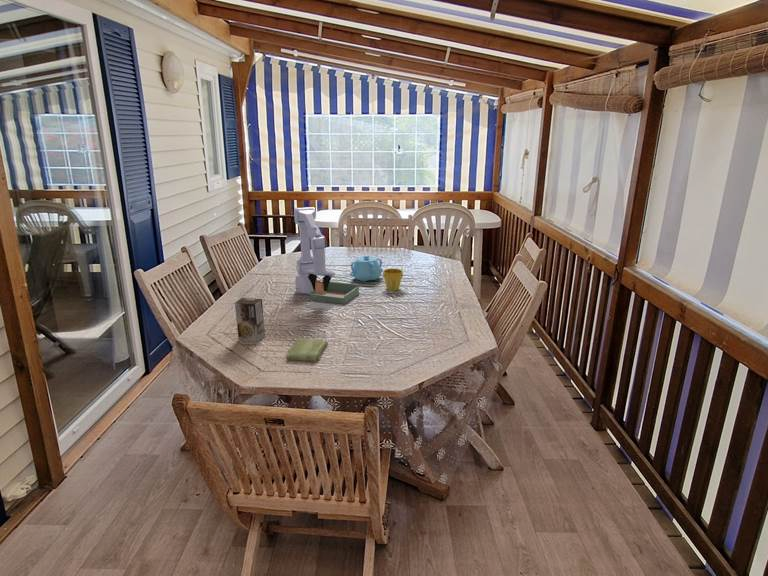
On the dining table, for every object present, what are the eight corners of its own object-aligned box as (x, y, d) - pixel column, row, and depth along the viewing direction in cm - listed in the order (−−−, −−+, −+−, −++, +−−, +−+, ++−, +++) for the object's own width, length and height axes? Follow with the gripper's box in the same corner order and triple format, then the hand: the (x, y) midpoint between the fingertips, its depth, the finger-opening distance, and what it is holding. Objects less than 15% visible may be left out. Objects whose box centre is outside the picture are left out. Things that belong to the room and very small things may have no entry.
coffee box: (265, 336, 206) (262, 298, 201) (258, 342, 200) (255, 303, 195) (245, 334, 208) (242, 297, 203) (237, 340, 202) (234, 302, 197)
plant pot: (400, 292, 261) (400, 274, 258) (381, 291, 263) (381, 273, 260) (404, 286, 271) (404, 268, 268) (385, 285, 273) (385, 267, 270)
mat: (304, 307, 239) (304, 307, 239) (314, 301, 248) (314, 301, 247) (327, 310, 235) (327, 310, 234) (336, 304, 243) (336, 303, 243)
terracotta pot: (313, 294, 238) (313, 281, 236) (318, 291, 243) (318, 279, 241) (323, 295, 236) (322, 282, 235) (328, 292, 241) (328, 280, 239)
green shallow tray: (309, 299, 250) (309, 290, 248) (325, 289, 265) (325, 280, 264) (344, 304, 244) (344, 294, 242) (358, 293, 259) (358, 284, 257)
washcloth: (328, 344, 199) (328, 336, 198) (318, 364, 182) (318, 355, 181) (296, 342, 201) (296, 335, 200) (283, 362, 184) (282, 354, 183)
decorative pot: (373, 284, 274) (373, 260, 270) (347, 281, 281) (346, 257, 277) (385, 277, 289) (385, 254, 284) (360, 273, 295) (360, 251, 291)
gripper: (301, 263, 233) (302, 290, 237) (329, 265, 229) (330, 294, 233) (308, 259, 240) (309, 286, 244) (336, 262, 235) (337, 289, 239)
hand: (320, 290), depth 239 cm, fingers closed on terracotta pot, 5 cm apart
